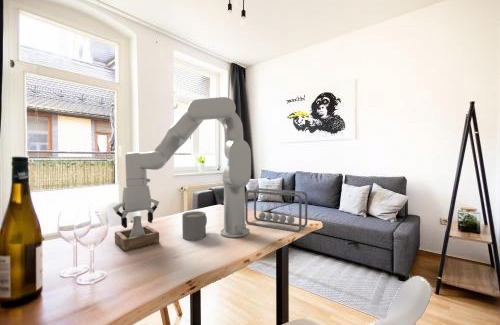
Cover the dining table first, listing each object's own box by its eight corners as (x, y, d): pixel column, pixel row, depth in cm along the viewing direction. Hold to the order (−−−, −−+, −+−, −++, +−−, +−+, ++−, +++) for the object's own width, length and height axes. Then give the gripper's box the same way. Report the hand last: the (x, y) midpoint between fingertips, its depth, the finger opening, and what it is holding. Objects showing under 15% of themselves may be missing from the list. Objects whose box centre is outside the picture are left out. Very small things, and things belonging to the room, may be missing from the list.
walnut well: (159, 243, 98) (159, 232, 98) (124, 252, 89) (124, 240, 89) (147, 235, 107) (147, 225, 107) (114, 242, 99) (114, 231, 98)
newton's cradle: (307, 227, 120) (307, 191, 120) (300, 233, 111) (301, 194, 111) (254, 219, 135) (254, 187, 135) (244, 224, 126) (244, 190, 126)
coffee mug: (192, 242, 100) (192, 217, 99) (177, 237, 105) (177, 214, 105) (215, 233, 110) (215, 211, 110) (201, 229, 116) (200, 209, 116)
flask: (150, 238, 102) (150, 214, 101) (141, 244, 94) (140, 219, 94) (134, 237, 102) (133, 214, 102) (123, 244, 95) (123, 218, 95)
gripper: (154, 180, 106) (155, 218, 107) (110, 183, 94) (111, 227, 95) (161, 181, 101) (162, 222, 101) (115, 185, 89) (116, 231, 89)
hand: (137, 224), depth 98 cm, fingers open, 9 cm apart
